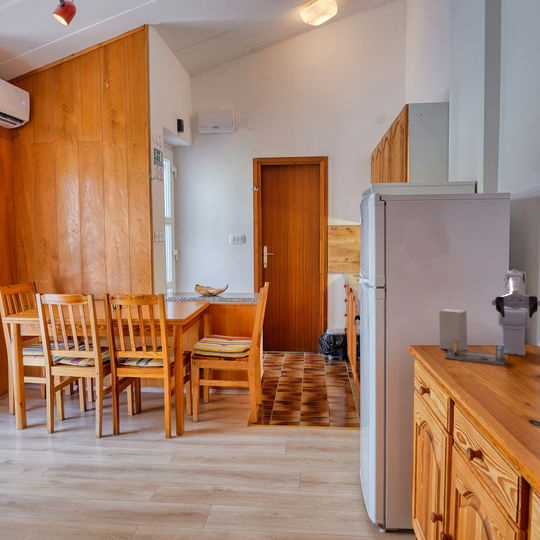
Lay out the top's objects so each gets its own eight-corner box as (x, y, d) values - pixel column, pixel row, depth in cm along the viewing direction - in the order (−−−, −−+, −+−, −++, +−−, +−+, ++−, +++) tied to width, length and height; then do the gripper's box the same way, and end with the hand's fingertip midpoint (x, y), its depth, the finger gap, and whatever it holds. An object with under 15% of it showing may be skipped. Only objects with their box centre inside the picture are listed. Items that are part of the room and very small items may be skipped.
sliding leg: (496, 354, 158) (496, 343, 157) (503, 355, 156) (504, 344, 156) (494, 359, 152) (495, 347, 151) (502, 360, 150) (503, 348, 150)
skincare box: (467, 350, 170) (468, 310, 169) (460, 352, 166) (461, 312, 165) (445, 346, 176) (446, 307, 175) (438, 348, 172) (439, 309, 171)
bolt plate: (449, 351, 168) (450, 338, 167) (505, 357, 159) (505, 343, 159) (445, 358, 158) (445, 344, 158) (503, 365, 149) (504, 350, 149)
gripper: (491, 283, 160) (491, 304, 149) (540, 283, 153) (542, 304, 142) (492, 301, 163) (492, 322, 152) (540, 301, 156) (542, 323, 145)
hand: (516, 314), depth 147 cm, fingers open, 7 cm apart
